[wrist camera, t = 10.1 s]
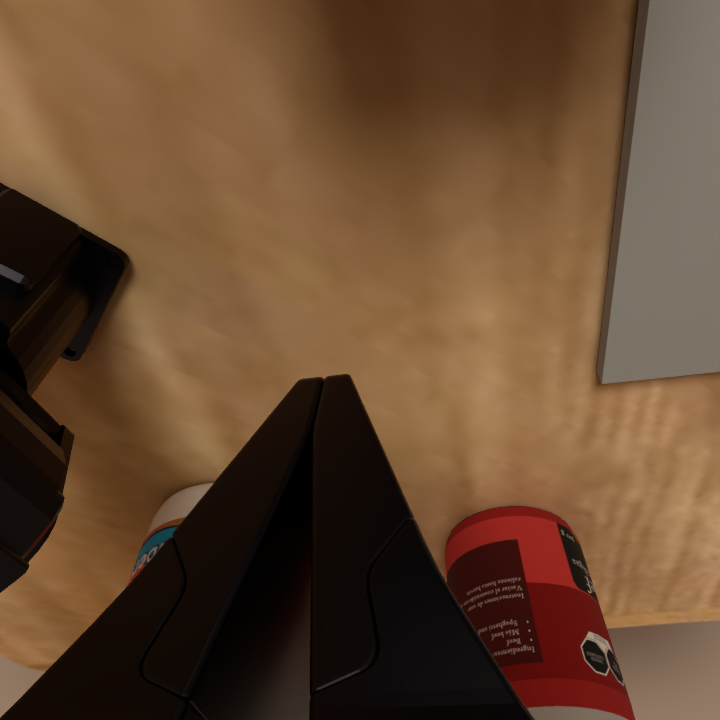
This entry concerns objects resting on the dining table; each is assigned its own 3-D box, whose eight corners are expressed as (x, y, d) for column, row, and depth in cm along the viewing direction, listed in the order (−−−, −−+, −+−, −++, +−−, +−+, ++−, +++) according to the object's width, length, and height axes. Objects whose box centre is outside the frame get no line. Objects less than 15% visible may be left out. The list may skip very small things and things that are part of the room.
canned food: (559, 578, 36) (614, 785, 28) (435, 572, 36) (452, 777, 28) (594, 505, 31) (673, 728, 23) (451, 498, 31) (477, 719, 23)
